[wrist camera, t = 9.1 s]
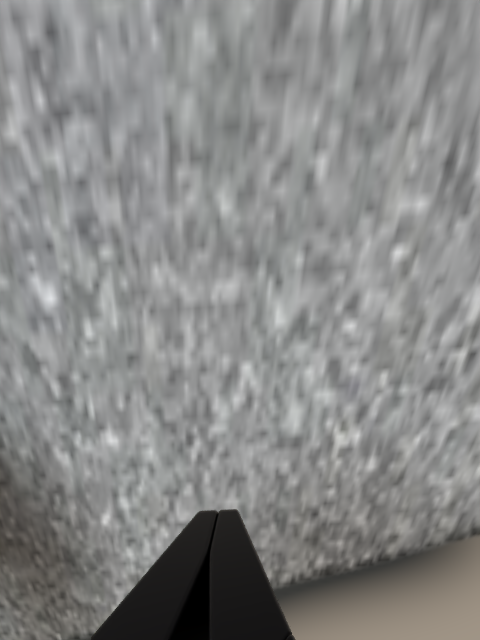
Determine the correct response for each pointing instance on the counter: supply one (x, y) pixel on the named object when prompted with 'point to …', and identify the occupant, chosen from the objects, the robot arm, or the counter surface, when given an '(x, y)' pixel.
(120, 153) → the counter surface
